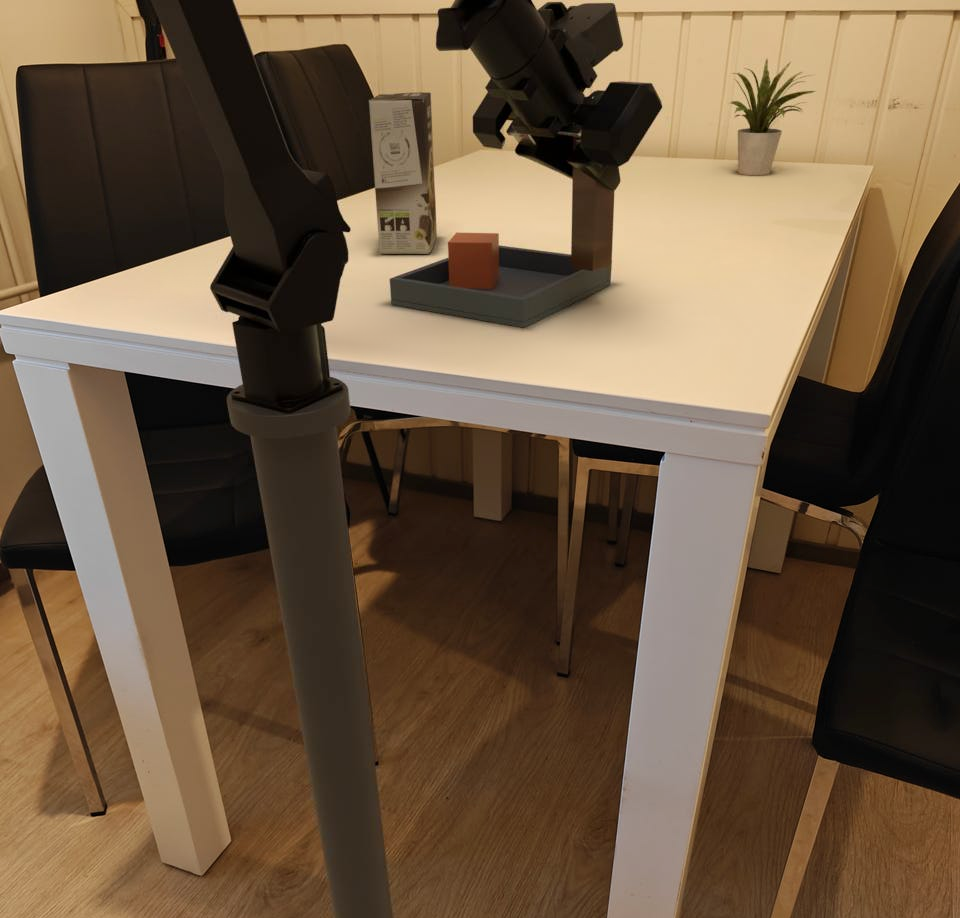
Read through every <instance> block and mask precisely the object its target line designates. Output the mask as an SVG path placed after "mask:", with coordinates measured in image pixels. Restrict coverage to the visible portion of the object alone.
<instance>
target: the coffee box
mask: <svg viewBox="0 0 960 918" xmlns="http://www.w3.org/2000/svg"><path fill="white" fill-rule="evenodd" d="M368 108H369V122H370V134H371V135H370V137H371V151H372V166H373V179H374V193H375V206H376V219H377V233H378V247H379V250H378V251H379V254H381V255H383V254H384V255H385V254H386V255H387V254H390V255H391V254H392V255H393V254H394V255H395V254H398V255H400V254H401V255H402V254H405V255H406V254H408V255H409V254H410V255H411V254H412V255H413V254H414V255H415V254H416V255H428V254H430V253H432V252H431V251H432V249H433V247H434V245H435V243H436V241H437V238H438V233H437V232H438V230H437V228H438V227H437V207H436V206H437V205H436V186H435V185H436V184H435V183H436V182H435V164H434V161H435V160H434V140H433V139H434V138H433V117H432V114H433V113H432V93H431V92H421V91H420V92H400V93H398V92H397V93H392V94H386V93H385V94H384V93H383V94H378V95H376V96H374V97H372V98H371V99H368Z"/></svg>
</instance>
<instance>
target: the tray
mask: <svg viewBox="0 0 960 918" xmlns="http://www.w3.org/2000/svg"><path fill="white" fill-rule="evenodd" d="M612 267H613V265H612V266H611V267H608V268H603V269H599V270H595V271H589V270H582V269H575V268H571V253H570V254H569V253H564V252H563V253H562V252H554V251H548V250H539V249H532V248H531V249H530V248H523V247H515V246H507V245H500V244H499V279H498V281H497V282H496V284H495V286H494V287H493V289H467V288H461V287H455V286H449V259H448V257H446V258H443V259H440V260H437V261H434V262H432V263H428V264H427V265H424V266H421V267H418V268H415V269H413V270H410V271H407V272H404V273H401V274H399V275H396V276H393V277H391V278H389V291H390V292H389V293H390V304H391V305H392V306H398V307H404V308H409V309H415V310H421V311H425V312H432V313H437V314H438V313H439V314H443V315H449V316H456V317H460V318H467V319H471V320H478V321H484V322H489V323H495V324H502V325H506V326H512V327H518V328H527V327H528V326H530V325H532V324H535V323H536V322H538V321H541V320H542V319H544V318H546V317H548V316H551V315H552V314H554V313H556V312H559V311H560V310H562V309H564V308H566V307H568V306H570V305H572V304H575V303H576V302H579V301H580V300H582V299H585V298H586V297H588V296H590V295H592V294H594V293H596V292H598V291H601V290H604V289H605V288H606V287H609V286H610V285H612V284H611V283H612V282H611V281H612V280H611V279H612Z"/></svg>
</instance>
